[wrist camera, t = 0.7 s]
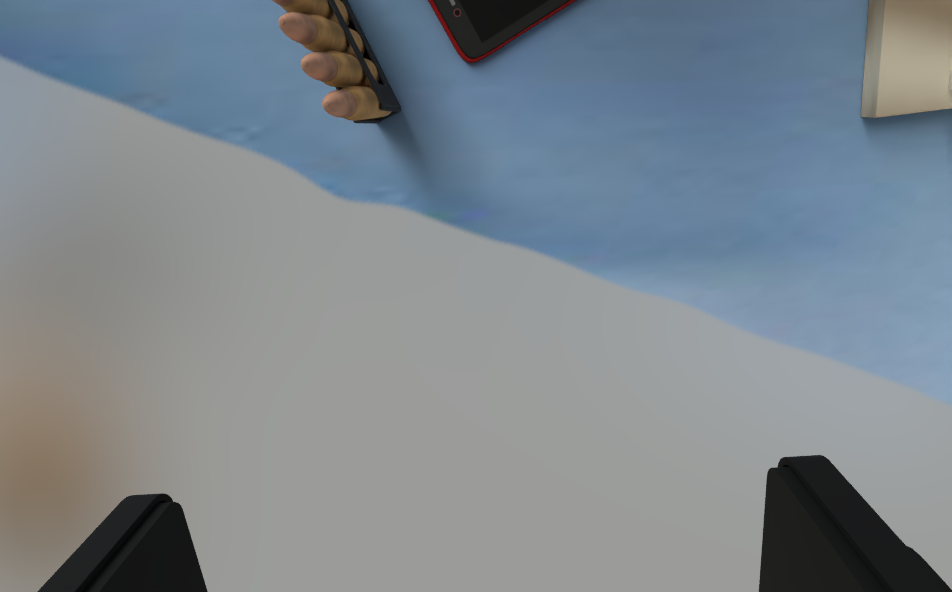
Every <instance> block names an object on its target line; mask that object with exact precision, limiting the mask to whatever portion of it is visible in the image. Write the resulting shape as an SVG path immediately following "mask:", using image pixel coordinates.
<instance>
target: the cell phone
mask: <svg viewBox="0 0 952 592" xmlns="http://www.w3.org/2000/svg"><path fill="white" fill-rule="evenodd" d="M428 1H429V3H430V5H431V7H432V8H433V10H434V12H435V14H436V16H437V17H438V19H439V21H440V23H441V24H442V26H443V28H444V30H445V32H446V33H447V35H448V37H449V39H450V41H451V42H452V44H453V46H454V48H455V49H456V51H457V52H458V54H459V55H460V56H461V58H462V59H463V60H465V61H466V62H468V63H475V62H478V61H480V60H482V59H484V58H486V57H487V56H489V55H491V54H492V53H494V52H496V51H497V50H499V49H501V48H502V47H504V45H506V44H507V43H509V42H510V41H512V40H514V39H515V38H517V37H518V36H520V35H521V34H523V33H525V32H526V31H528V30H529V29H531V28H532V27H534V26H536V25H537V24H539V23H540V22H542V21H543V20H546V19H548V18H550V17H551V16H553V15H554V14H556V13H557V12H559V11H561V10H562V9H564V8H565V7H567V6H568V5H570V4H571V3H573V2H575V1H576V0H428Z"/></svg>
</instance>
